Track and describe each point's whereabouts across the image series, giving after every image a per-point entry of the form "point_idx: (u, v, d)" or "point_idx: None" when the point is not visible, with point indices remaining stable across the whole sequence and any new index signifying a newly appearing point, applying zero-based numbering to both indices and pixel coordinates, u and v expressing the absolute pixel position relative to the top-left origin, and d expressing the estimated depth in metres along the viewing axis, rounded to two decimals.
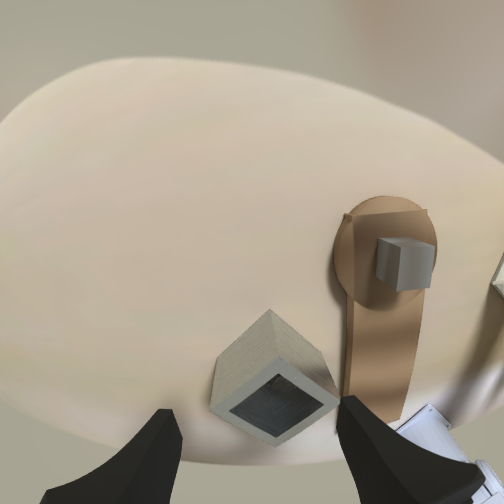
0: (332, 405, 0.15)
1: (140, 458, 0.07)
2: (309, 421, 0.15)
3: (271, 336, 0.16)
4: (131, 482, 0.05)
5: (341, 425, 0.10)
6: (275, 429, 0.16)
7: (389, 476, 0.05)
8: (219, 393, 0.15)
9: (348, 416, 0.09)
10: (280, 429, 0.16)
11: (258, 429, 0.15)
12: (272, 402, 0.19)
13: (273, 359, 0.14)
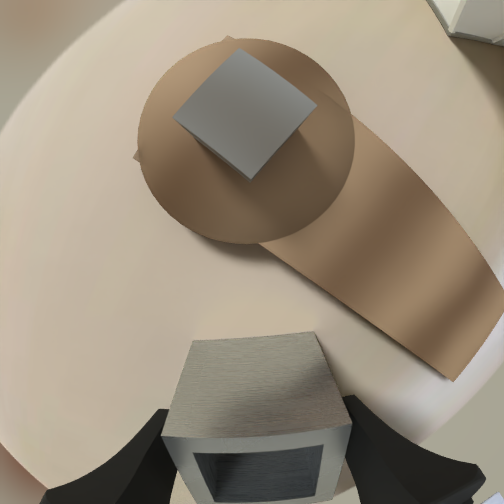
0: (340, 436, 0.07)
1: (140, 458, 0.07)
2: (332, 466, 0.07)
3: (177, 394, 0.09)
4: (131, 482, 0.05)
5: None
6: (312, 482, 0.08)
7: (389, 476, 0.05)
8: None
9: None
10: (314, 483, 0.08)
11: (277, 501, 0.08)
12: None
13: (164, 441, 0.07)
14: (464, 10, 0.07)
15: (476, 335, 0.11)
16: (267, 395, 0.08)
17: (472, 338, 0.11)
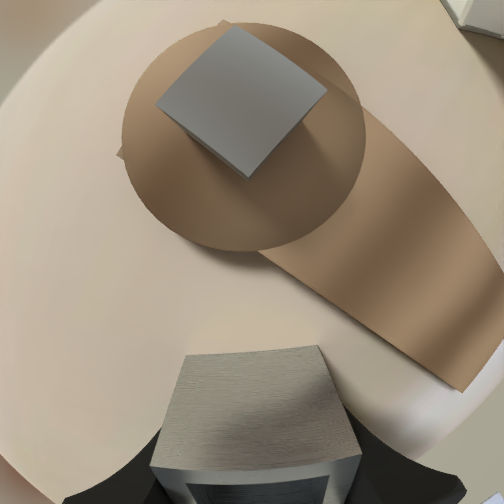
0: (349, 466, 0.06)
1: None
2: (338, 493, 0.06)
3: (168, 417, 0.08)
4: (153, 486, 0.05)
5: None
6: None
7: (365, 483, 0.05)
8: None
9: None
10: None
11: None
12: None
13: (153, 471, 0.06)
14: (475, 2, 0.05)
15: (487, 345, 0.10)
16: (267, 421, 0.07)
17: (483, 348, 0.10)
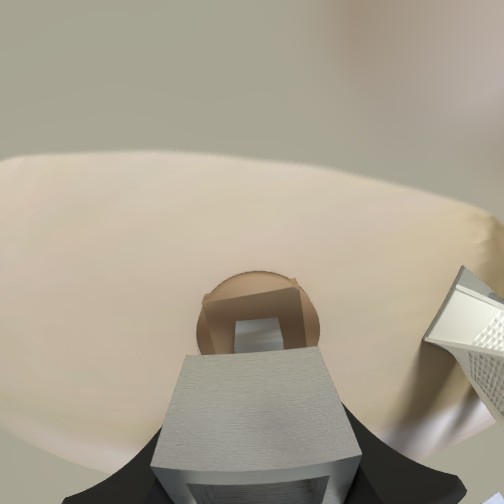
0: (348, 466, 0.06)
1: None
2: (338, 494, 0.06)
3: (168, 417, 0.08)
4: (153, 486, 0.05)
5: None
6: None
7: (365, 483, 0.05)
8: None
9: None
10: None
11: None
12: None
13: (154, 471, 0.06)
14: (442, 344, 0.17)
15: None
16: (267, 421, 0.07)
17: None
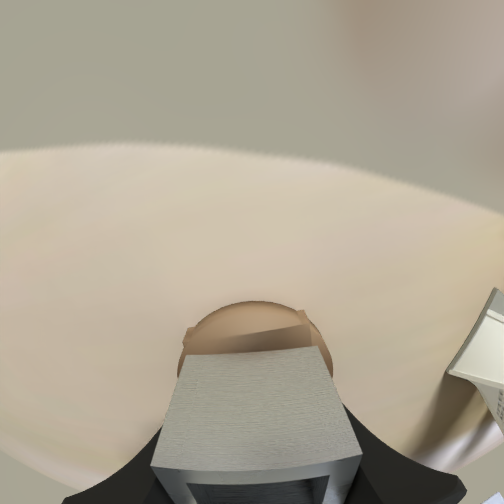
0: (348, 466, 0.06)
1: None
2: (338, 493, 0.06)
3: (169, 417, 0.08)
4: (153, 486, 0.05)
5: None
6: None
7: (365, 483, 0.05)
8: None
9: None
10: None
11: None
12: None
13: (154, 471, 0.06)
14: (469, 379, 0.13)
15: None
16: (268, 421, 0.07)
17: None
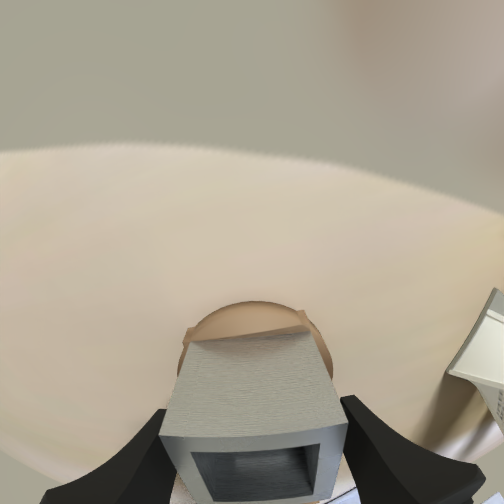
0: (337, 434, 0.07)
1: (140, 458, 0.07)
2: (329, 465, 0.07)
3: (175, 394, 0.09)
4: (131, 482, 0.05)
5: None
6: (310, 480, 0.09)
7: (388, 476, 0.05)
8: None
9: (348, 416, 0.09)
10: (312, 481, 0.08)
11: (275, 499, 0.08)
12: None
13: (162, 441, 0.07)
14: (469, 379, 0.13)
15: None
16: (264, 394, 0.09)
17: None
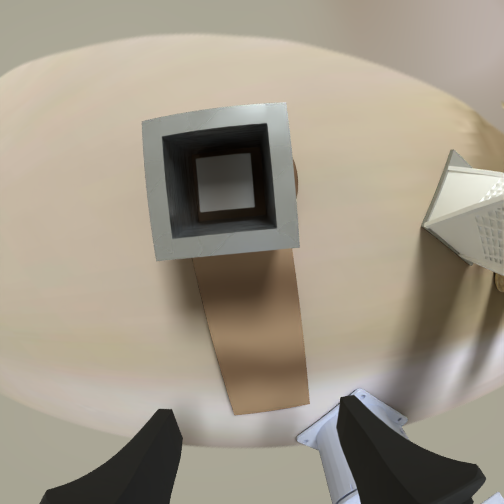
0: (279, 115, 0.10)
1: (140, 458, 0.07)
2: (283, 163, 0.10)
3: None
4: (131, 482, 0.05)
5: (341, 425, 0.10)
6: (274, 226, 0.11)
7: (388, 476, 0.05)
8: None
9: (348, 416, 0.09)
10: (275, 215, 0.11)
11: (236, 233, 0.11)
12: (269, 218, 0.14)
13: (142, 129, 0.10)
14: (444, 221, 0.16)
15: (268, 399, 0.19)
16: None
17: (264, 399, 0.19)
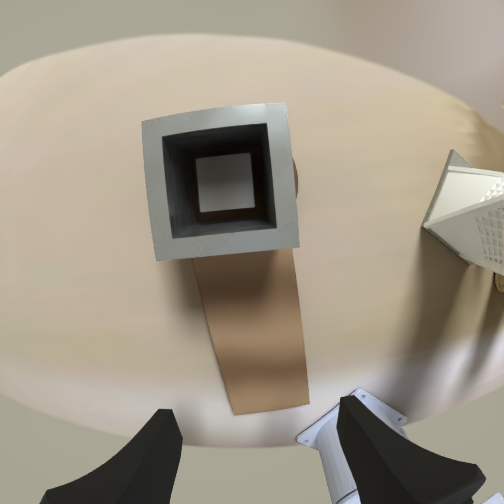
0: (279, 115, 0.10)
1: (140, 458, 0.07)
2: (283, 163, 0.10)
3: None
4: (131, 482, 0.05)
5: (341, 425, 0.10)
6: (274, 226, 0.11)
7: (388, 476, 0.05)
8: None
9: (348, 416, 0.09)
10: (275, 215, 0.11)
11: (236, 233, 0.11)
12: (269, 218, 0.14)
13: None
14: (444, 221, 0.16)
15: (268, 399, 0.19)
16: None
17: (264, 399, 0.19)
